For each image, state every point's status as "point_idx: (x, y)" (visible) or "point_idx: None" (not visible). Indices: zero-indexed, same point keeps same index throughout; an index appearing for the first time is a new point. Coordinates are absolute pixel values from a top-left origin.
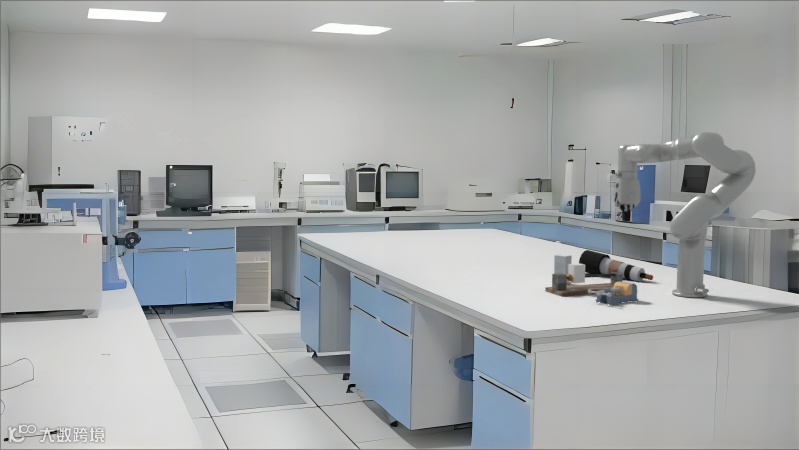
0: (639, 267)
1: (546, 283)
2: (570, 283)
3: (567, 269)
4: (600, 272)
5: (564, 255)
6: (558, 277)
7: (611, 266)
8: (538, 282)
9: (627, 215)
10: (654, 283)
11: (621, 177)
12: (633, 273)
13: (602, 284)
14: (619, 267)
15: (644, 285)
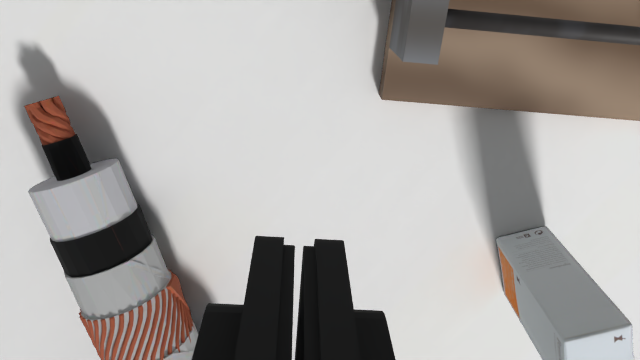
0: (58, 206)
1: None
2: (502, 237)
3: (566, 274)
4: None
5: (602, 358)
6: None
7: (178, 326)
8: None
9: (349, 317)
10: (51, 71)
11: None
12: (122, 190)
13: (455, 76)
14: (153, 287)
15: (155, 41)
